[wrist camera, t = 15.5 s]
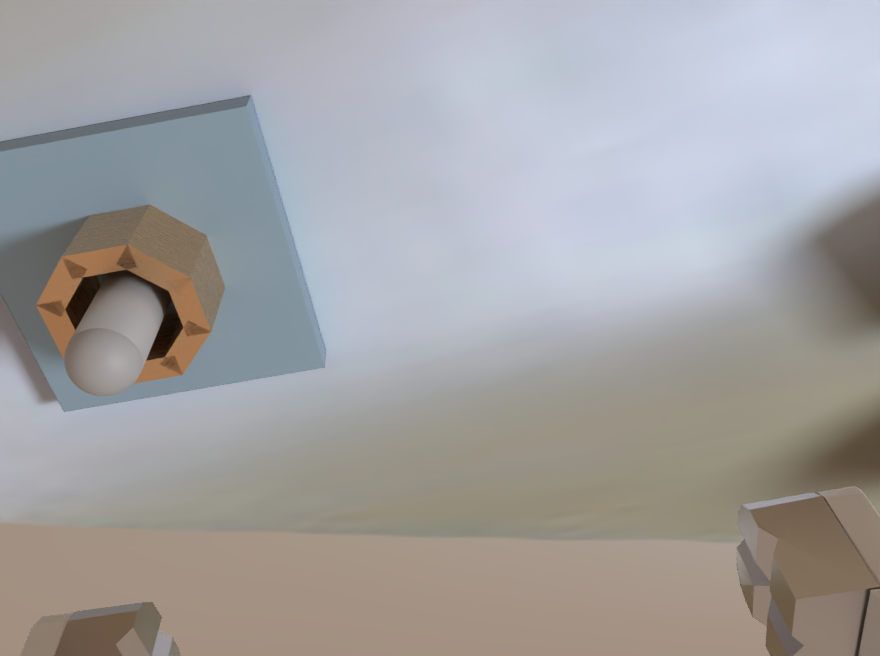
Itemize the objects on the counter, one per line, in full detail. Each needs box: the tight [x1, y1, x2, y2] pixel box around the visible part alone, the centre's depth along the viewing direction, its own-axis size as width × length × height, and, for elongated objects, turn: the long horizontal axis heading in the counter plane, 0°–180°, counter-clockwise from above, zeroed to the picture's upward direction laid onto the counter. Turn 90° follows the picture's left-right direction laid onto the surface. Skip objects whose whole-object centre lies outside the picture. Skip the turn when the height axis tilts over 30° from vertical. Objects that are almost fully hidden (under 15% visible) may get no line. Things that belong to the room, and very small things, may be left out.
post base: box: [0, 96, 326, 412], centre depth 37 cm, size 14×14×10 cm
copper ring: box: [36, 204, 225, 383], centre depth 38 cm, size 7×7×4 cm
